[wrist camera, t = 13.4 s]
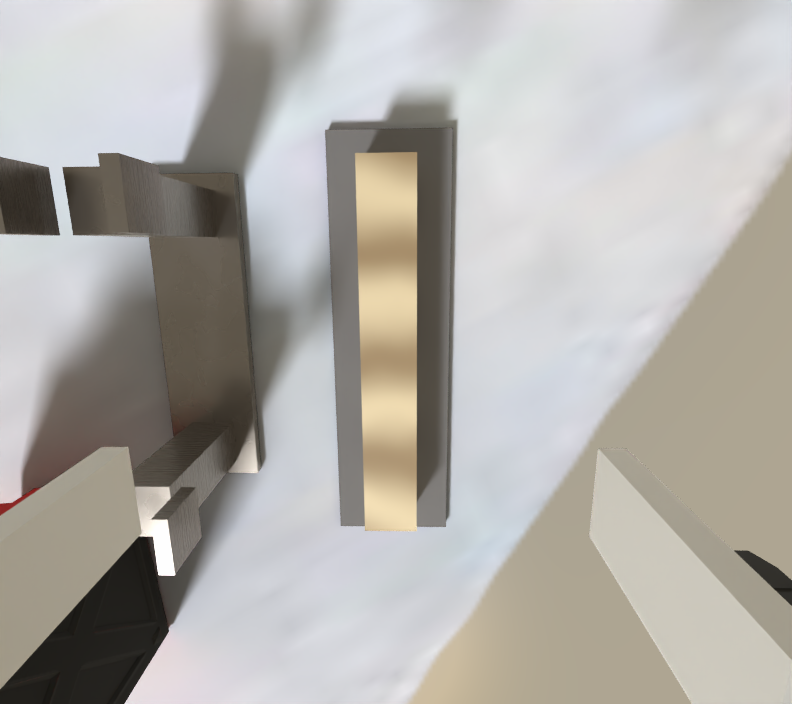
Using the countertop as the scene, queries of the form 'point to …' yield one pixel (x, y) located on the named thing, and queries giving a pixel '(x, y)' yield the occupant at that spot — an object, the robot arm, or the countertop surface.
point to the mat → (430, 310)
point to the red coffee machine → (97, 638)
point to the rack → (170, 320)
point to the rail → (388, 336)
